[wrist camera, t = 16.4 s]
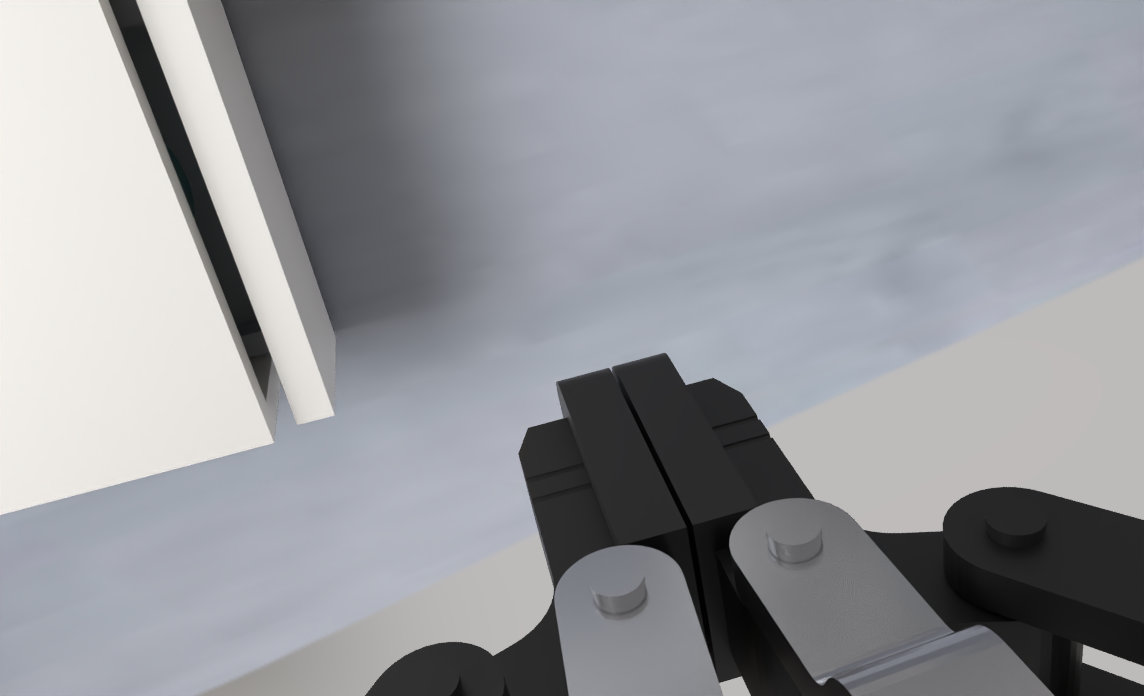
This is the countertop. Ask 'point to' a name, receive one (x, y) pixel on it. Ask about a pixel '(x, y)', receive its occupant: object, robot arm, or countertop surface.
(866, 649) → the robot arm
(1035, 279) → the countertop surface
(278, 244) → the tray
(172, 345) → the box
